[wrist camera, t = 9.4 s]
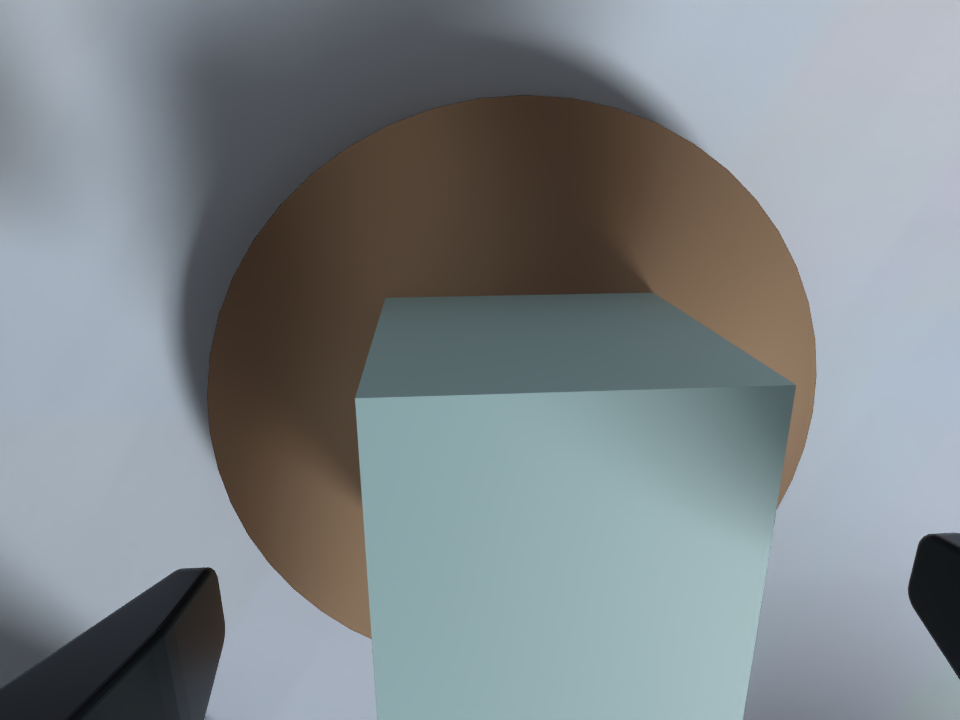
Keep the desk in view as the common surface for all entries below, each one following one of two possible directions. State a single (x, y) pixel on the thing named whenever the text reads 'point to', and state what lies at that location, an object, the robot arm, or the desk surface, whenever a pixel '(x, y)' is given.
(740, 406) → the teal block
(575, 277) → the walnut base
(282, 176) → the desk surface
